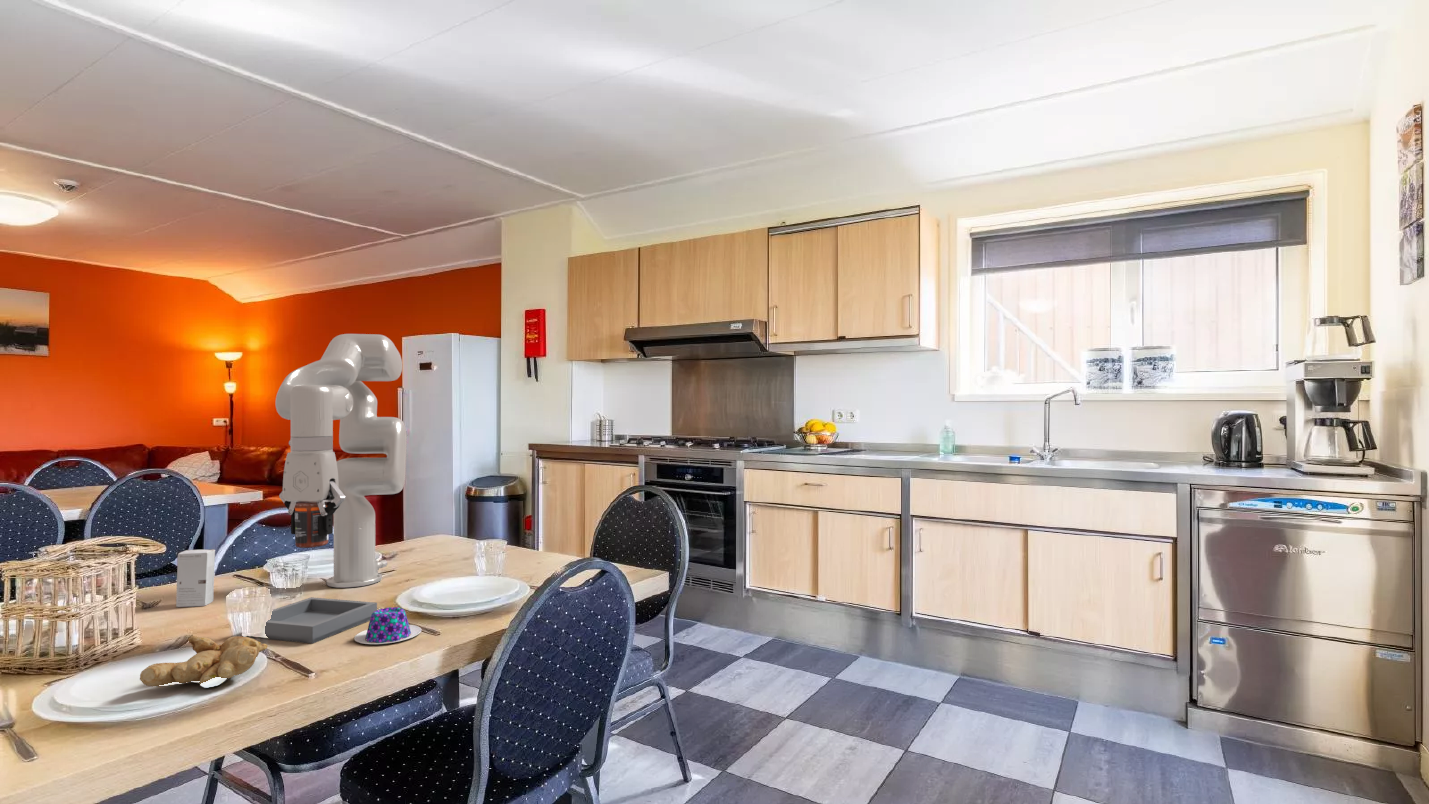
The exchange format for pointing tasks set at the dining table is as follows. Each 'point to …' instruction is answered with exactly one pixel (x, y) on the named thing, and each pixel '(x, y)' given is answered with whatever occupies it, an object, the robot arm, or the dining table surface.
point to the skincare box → (195, 578)
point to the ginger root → (206, 661)
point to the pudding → (387, 627)
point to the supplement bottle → (308, 525)
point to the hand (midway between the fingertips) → (312, 533)
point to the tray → (317, 619)
